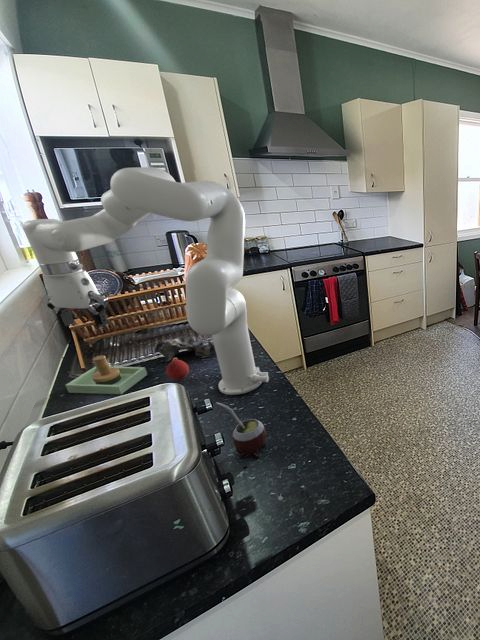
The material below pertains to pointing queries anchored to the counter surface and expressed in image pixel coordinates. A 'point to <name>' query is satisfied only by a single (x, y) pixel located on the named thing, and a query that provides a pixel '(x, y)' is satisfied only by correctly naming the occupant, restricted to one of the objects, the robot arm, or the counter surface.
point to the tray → (88, 385)
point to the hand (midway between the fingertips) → (85, 325)
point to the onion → (177, 369)
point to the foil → (183, 347)
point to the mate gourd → (247, 435)
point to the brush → (105, 372)
